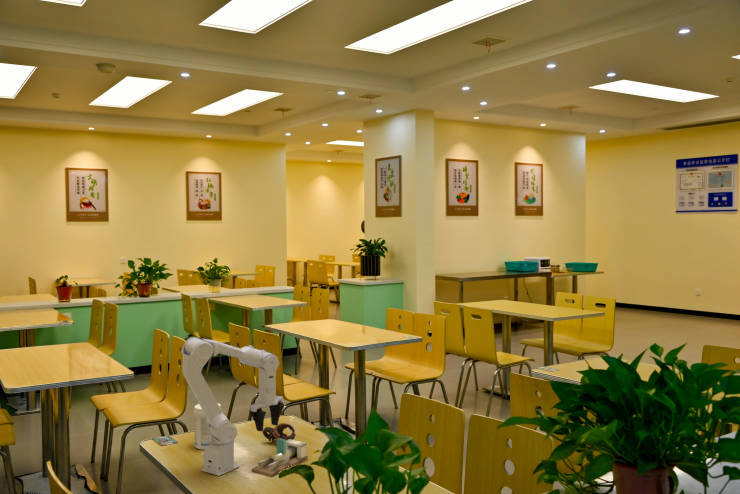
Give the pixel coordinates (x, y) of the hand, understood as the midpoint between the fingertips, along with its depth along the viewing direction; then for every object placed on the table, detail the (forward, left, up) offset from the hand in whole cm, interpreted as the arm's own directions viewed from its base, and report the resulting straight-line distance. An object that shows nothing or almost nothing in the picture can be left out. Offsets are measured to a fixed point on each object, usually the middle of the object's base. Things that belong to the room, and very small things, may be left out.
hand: (267, 427), depth 216 cm
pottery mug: (+14, +7, -11) cm, 19 cm away
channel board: (-3, -8, -10) cm, 13 cm away
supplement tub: (-2, +26, -11) cm, 28 cm away
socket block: (+5, -8, -9) cm, 13 cm away
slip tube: (0, -8, -9) cm, 12 cm away
